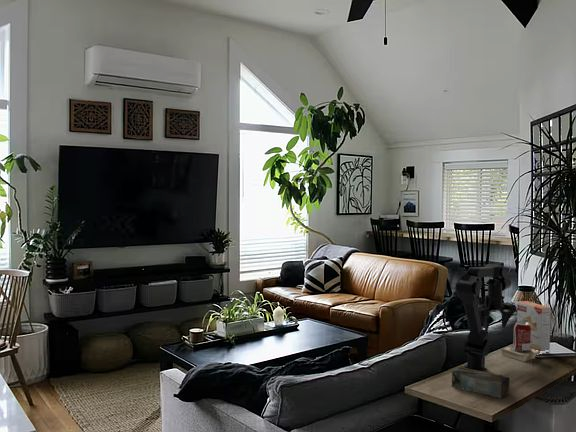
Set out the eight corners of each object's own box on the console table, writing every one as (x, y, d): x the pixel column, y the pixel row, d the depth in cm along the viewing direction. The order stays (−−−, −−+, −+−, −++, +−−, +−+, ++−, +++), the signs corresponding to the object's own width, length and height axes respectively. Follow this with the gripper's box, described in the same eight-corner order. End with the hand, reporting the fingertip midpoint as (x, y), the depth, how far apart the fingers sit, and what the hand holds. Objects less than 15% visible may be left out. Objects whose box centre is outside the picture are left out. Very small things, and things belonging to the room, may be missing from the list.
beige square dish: (523, 361, 239) (523, 355, 239) (501, 354, 248) (501, 348, 248) (539, 357, 244) (539, 351, 244) (517, 350, 254) (518, 344, 254)
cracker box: (515, 346, 260) (517, 301, 259) (525, 344, 263) (526, 300, 261) (539, 355, 248) (541, 308, 246) (549, 353, 250) (551, 306, 248)
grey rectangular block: (459, 380, 216) (460, 364, 216) (510, 393, 204) (511, 375, 204) (450, 386, 210) (451, 369, 210) (502, 400, 198) (503, 382, 198)
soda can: (532, 352, 242) (533, 325, 241) (516, 352, 242) (517, 325, 241) (526, 347, 249) (527, 321, 248) (511, 347, 249) (511, 320, 248)
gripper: (498, 286, 250) (498, 321, 252) (464, 292, 243) (464, 327, 245) (517, 292, 240) (517, 327, 242) (482, 297, 233) (482, 334, 235)
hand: (495, 329), depth 241 cm, fingers open, 9 cm apart
